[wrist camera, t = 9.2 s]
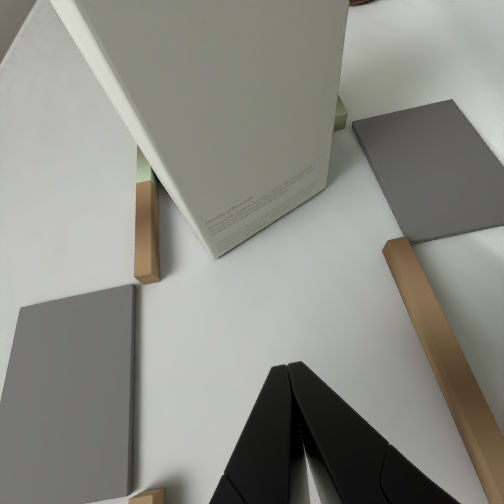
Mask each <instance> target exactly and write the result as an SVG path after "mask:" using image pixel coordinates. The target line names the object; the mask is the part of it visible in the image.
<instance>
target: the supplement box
mask: <svg viewBox="0 0 504 504" xmlns="http://www.w3.org/2000/svg"><path fill="white" fill-rule="evenodd" d="M50 2H51V3H52V5H53V6H54V8H55V10H56V11H57V13H58V15H59V16H60V18H61V20H62V21H63V23H64V25H65V26H66V28H67V29H68V31H69V33H70V34H71V36H72V38H73V39H74V41H75V43H76V44H77V46H78V48H79V49H80V51H81V52H82V54H83V56H84V57H85V59H86V61H87V62H88V64H89V66H90V67H91V69H92V71H93V72H94V74H95V75H96V77H97V79H98V80H99V82H100V84H101V85H102V87H103V89H104V90H105V92H106V94H107V95H108V97H109V98H110V100H111V102H112V103H113V105H114V107H115V108H116V110H117V112H118V113H119V115H120V117H121V118H122V120H123V121H124V123H125V125H126V126H127V128H128V130H129V131H130V133H131V135H132V136H133V138H134V139H135V141H136V143H137V144H138V146H139V148H140V149H141V151H142V153H143V154H144V156H145V157H146V159H147V161H148V162H149V164H150V166H151V167H152V169H153V170H154V172H155V174H156V175H157V177H158V179H159V180H160V182H161V183H162V185H163V186H164V188H165V189H166V191H167V192H168V194H169V195H170V197H171V198H172V199H173V201H174V202H175V204H176V205H177V207H178V208H179V210H180V211H181V213H182V214H183V216H184V217H185V219H186V220H187V222H188V223H189V225H190V226H191V228H192V229H193V231H194V232H195V234H196V235H197V237H198V238H199V239H200V241H201V242H202V244H203V245H204V247H205V248H206V250H207V251H208V253H209V254H210V255H211V257H212V258H213V259H216V258H218V257H220V256H221V255H223V254H224V253H226V252H227V251H229V250H231V249H232V248H234V247H235V246H237V245H238V244H240V243H241V242H243V241H244V240H246V239H248V238H249V237H251V236H252V235H254V234H255V233H257V232H258V231H260V230H262V229H263V228H265V227H266V226H268V225H269V224H271V223H272V222H274V221H275V220H277V219H278V218H280V217H282V216H283V215H285V214H286V213H288V212H290V211H291V210H293V209H294V208H296V207H297V206H299V205H300V204H302V203H303V202H305V201H307V200H308V199H310V198H311V197H313V196H314V195H316V194H317V193H319V192H320V191H322V190H323V189H325V188H326V186H327V178H328V170H329V161H330V154H331V145H332V137H333V129H334V121H335V113H336V105H337V97H338V88H339V80H340V72H341V64H342V55H343V48H344V39H345V31H346V23H347V15H348V7H349V0H50Z"/></svg>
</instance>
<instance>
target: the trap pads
mask: <svg viewBox="0 0 504 504" xmlns="http://www.w3.org/2000/svg"><path fill="white" fill-rule="evenodd" d="M352 128H353V130H354V132H355V134H356V136H357V138H358V140H359V143H360V145H361V147H362V149H363V151H364V153H365V155H366V157H367V159H368V161H369V163H370V166H371V168H372V170H373V172H374V174H375V176H376V178H377V180H378V182H379V184H380V186H381V189H382V191H383V193H384V195H385V197H386V199H387V201H388V203H389V205H390V207H391V209H392V212H393V214H394V216H395V218H396V220H397V222H398V224H399V226H400V228H401V230H402V232H403V235H404V237H406V236H407V238H408V241H409V243H410V245H412V244H417V243H422V242H426V241H431V240H436V239H441V238H446V237H450V236H455V235H460V234H465V233H470V232H474V231H479V230H484V229H489V228H494V227H498V226H503V225H504V167H503V165H502V164H501V163H500V161H499V160H498V159H497V157H496V156H495V155H494V154H493V152H492V151H491V150H490V148H489V147H488V146H487V144H486V143H485V142H484V140H483V139H482V138H481V136H480V135H479V134H478V133H477V131H476V130H475V129H474V127H473V126H472V125H471V123H470V122H469V121H468V119H467V118H466V117H465V115H464V114H463V113H462V112H461V110H460V109H459V108H458V106H457V105H456V104H455V102H454V101H453V100H452V99H450V100H446V101H441V102H437V103H433V104H428V105H424V106H419V107H415V108H411V109H406V110H402V111H397V112H393V113H389V114H384V115H380V116H375V117H371V118H367V119H362V120H358V121H353V122H352ZM135 298H136V286H135V285H133V284H130V285H125V286H120V287H116V288H111V289H106V290H101V291H97V292H92V293H87V294H82V295H78V296H73V297H68V298H63V299H59V300H54V301H49V302H45V303H40V304H35V305H30V306H26V307H21V308H20V311H19V316H18V321H17V325H16V330H15V335H14V340H13V345H12V349H11V354H10V359H9V364H8V368H7V373H6V378H5V383H4V387H3V392H2V397H1V402H0V504H85V503H91V502H96V501H102V500H108V499H113V498H119V497H124V496H128V495H130V494H131V489H132V441H133V393H134V345H135Z"/></svg>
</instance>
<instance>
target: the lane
mask: <svg viewBox="0 0 504 504" xmlns="http://www.w3.org/2000/svg"><path fill="white" fill-rule="evenodd" d="M346 118H347V112H346V110H345V108H344V106H343V104H342V102H341V99H340V97H339V95H338V97H337V105H336V113H335V121H334V129H333V130H338V129H342V128H345V124H346ZM382 252H383V254H384V256H385V259H386V261H387V264H388V266H389V268H390V271H391V273H392V275H393V278H394V280H395V282H396V285H397V287H398V289H399V292H400V294H401V296H402V299H403V301H404V304H405V306H406V308H407V311H408V313H409V315H410V318H411V320H412V322H413V325H414V327H415V329H416V332H417V334H418V336H419V339H420V341H421V344H422V346H423V348H424V351H425V353H426V355H427V358H428V360H429V362H430V365H431V367H432V369H433V372H434V374H435V376H436V379H437V381H438V384H439V386H440V388H441V391H442V393H443V395H444V398H445V400H446V402H447V405H448V407H449V409H450V412H451V414H452V416H453V419H454V421H455V424H456V426H457V428H458V431H459V433H460V435H461V438H462V440H463V442H464V445H465V447H466V449H467V452H468V454H469V456H470V459H471V461H472V463H473V466H474V468H475V471H476V473H477V475H478V478H479V480H480V482H481V485H482V487H483V489H484V492H485V494H486V496H487V499H488V501H489V503H490V504H504V438H503V436H502V433H501V431H500V429H499V427H498V425H497V423H496V421H495V419H494V417H493V415H492V413H491V411H490V409H489V406H488V404H487V402H486V400H485V398H484V396H483V394H482V392H481V390H480V388H479V386H478V384H477V382H476V380H475V377H474V375H473V373H472V371H471V369H470V367H469V365H468V363H467V361H466V359H465V357H464V355H463V353H462V350H461V348H460V346H459V344H458V342H457V340H456V338H455V336H454V334H453V332H452V330H451V328H450V326H449V324H448V321H447V319H446V317H445V315H444V313H443V311H442V309H441V307H440V305H439V303H438V301H437V299H436V297H435V294H434V292H433V290H432V288H431V286H430V284H429V282H428V280H427V278H426V276H425V274H424V272H423V270H422V268H421V265H420V263H419V261H418V259H417V257H416V255H415V253H414V251H413V249H412V247H411V245H410V243H409V241H408V238H407V236H406V237H401V238H396V239H392V240H388V241H387V242H386V244H385V246H384V248H383V250H382ZM134 277H135V278H136V279H137V280H139V281H140V282H141V283H142V284H149V283H154V282H159V281H160V266H159V217H158V177H157V175H156V174H155V172H154V170H153V169H152V167H151V166H150V164H149V162H148V161H147V159H146V157H145V156H144V154H143V153H142V151H141V149H140V148H139V146H138V144H137V179H136V221H135V262H134ZM129 504H164V488H160V489H154V490H149V491H143V492H141V493H139V494H137V495H135V496H133V497H132V498H130V499H129Z"/></svg>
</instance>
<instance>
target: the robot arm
mask: <svg viewBox="0 0 504 504" xmlns="http://www.w3.org/2000/svg"><path fill="white" fill-rule="evenodd" d="M287 368H288V369H287ZM299 425H300V426H299ZM300 430H301V431H300ZM301 435H302V436H301ZM302 439H303V440H302ZM303 444H304V445H303ZM304 448H305V451H304ZM305 453H306V457H307V460H308V463H309V467H310V470H311V473H312V476H313V479H314V482H315V485H316V488H317V491H318V494H319V497H320V500H321V503H322V504H461V503H459V502H458V501H457V500H456V499H454V498H453V497H452V496H450V495H449V494H448V493H447V492H445V491H444V490H443V489H442V488H440V487H439V486H438V485H437V484H435V483H434V482H433V481H432V480H430V479H429V478H428V477H427V476H426V475H425V474H424V473H422V472H421V471H420V470H419V469H418V468H417V467H416V466H414V465H413V464H412V463H411V462H410V461H409V460H408V459H406V458H405V457H404V456H403V455H402V454H401V453H400V452H399V451H398V450H397V449H396V448H395V447H394V446H393V445H391V444H390V445H389V442H388V441H387V440H386V439H385V438H384V437H383V436H382V435H381V434H379V433H378V432H377V431H376V430H375V429H374V428H373V427H372V426H371V425H370V424H369V423H368V422H367V421H366V420H364V419H363V418H362V417H361V416H360V415H359V414H358V413H357V412H356V411H355V410H354V409H353V408H352V407H350V406H349V405H348V404H347V403H346V402H345V401H344V400H343V399H342V398H341V397H340V396H339V395H338V394H337V393H335V392H334V391H333V390H332V389H331V388H330V387H329V386H328V385H327V384H326V383H325V382H324V381H323V380H321V379H320V378H319V377H318V376H317V375H316V374H315V373H314V372H313V371H312V370H311V369H310V368H309V367H308V366H306V365H305V364H304V363H303V362H302V361H298V362H293V363H289V364H288V365H287V366H286V365H285V364H283V365H278V366H273V367H272V368H271V369H270V372H269V374H268V376H267V378H266V380H265V383H264V385H263V387H262V389H261V391H260V394H259V396H258V398H257V400H256V402H255V405H254V407H253V409H252V411H251V413H250V416H249V418H248V420H247V422H246V424H245V427H244V429H243V431H242V433H241V435H240V438H239V440H238V442H237V444H236V446H235V449H234V451H233V453H232V455H231V457H230V460H229V462H228V464H227V466H226V468H225V471H224V475H222V477H221V479H220V481H219V483H218V486H217V488H216V490H215V492H214V494H213V496H212V499H211V501H210V503H209V504H310V497H309V486H308V475H307V465H306V457H305Z"/></svg>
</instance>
